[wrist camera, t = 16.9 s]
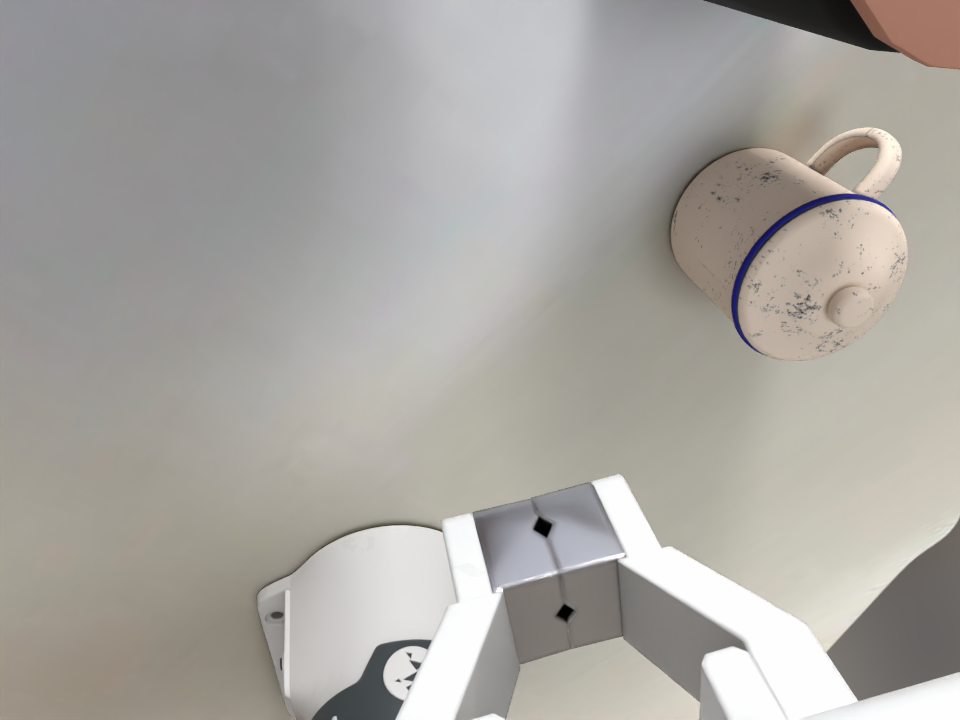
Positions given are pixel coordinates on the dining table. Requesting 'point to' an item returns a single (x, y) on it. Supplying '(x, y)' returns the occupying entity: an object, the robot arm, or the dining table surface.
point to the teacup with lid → (794, 245)
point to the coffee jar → (872, 24)
